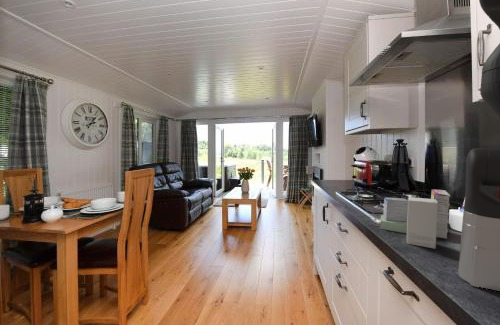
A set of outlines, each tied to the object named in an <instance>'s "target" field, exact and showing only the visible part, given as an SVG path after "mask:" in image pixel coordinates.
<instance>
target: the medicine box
mask: <svg viewBox="0 0 500 325" xmlns="http://www.w3.org/2000/svg"><path fill="white" fill-rule="evenodd" d="M383 200H384V202H383V213H382V215H383V217H384V218H385V219H386V220H392V221H403V222H407V216H408V199H406V198H400V197H384V199H383Z"/></svg>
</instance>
